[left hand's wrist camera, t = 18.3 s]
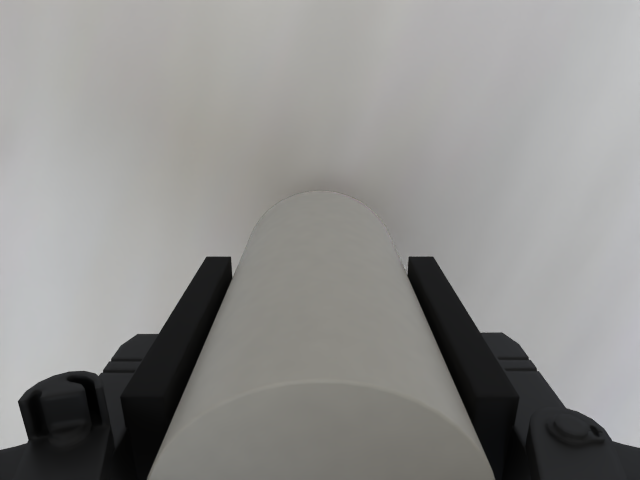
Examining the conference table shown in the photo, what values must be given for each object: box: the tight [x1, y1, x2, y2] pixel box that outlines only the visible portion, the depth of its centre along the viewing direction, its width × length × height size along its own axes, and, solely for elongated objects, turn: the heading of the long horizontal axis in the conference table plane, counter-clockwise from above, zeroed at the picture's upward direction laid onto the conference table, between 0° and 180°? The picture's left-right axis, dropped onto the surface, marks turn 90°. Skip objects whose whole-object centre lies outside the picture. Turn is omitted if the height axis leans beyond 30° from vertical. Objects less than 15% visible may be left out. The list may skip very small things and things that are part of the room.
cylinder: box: [147, 191, 495, 480], centre depth 12 cm, size 6×6×11 cm
